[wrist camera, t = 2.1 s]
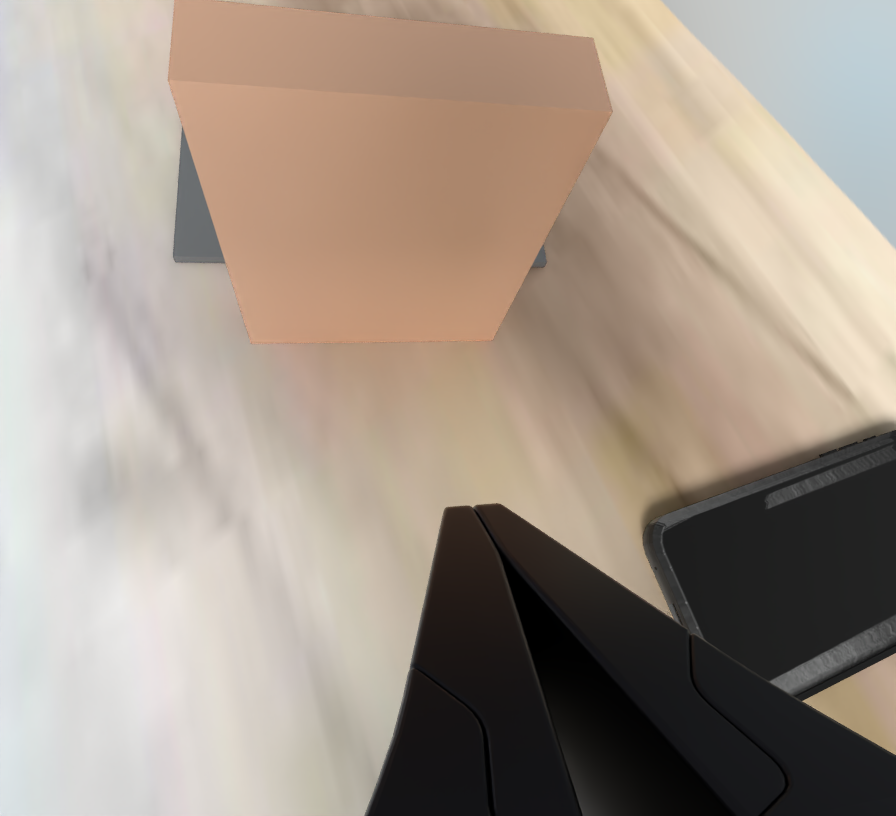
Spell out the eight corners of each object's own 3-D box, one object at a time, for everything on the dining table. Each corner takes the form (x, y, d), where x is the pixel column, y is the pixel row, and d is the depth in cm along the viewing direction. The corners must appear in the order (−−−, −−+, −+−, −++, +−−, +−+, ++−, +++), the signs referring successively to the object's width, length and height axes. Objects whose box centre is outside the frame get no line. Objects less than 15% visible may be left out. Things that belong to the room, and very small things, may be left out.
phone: (1018, 590, 24) (736, 735, 20) (989, 591, 25) (716, 729, 21) (914, 420, 26) (641, 520, 22) (892, 428, 27) (628, 524, 23)
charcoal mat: (543, 267, 27) (546, 262, 26) (175, 262, 24) (172, 256, 23) (500, 36, 32) (502, 30, 31) (193, 7, 29) (191, -1, 28)
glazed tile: (492, 340, 25) (613, 111, 14) (251, 343, 23) (167, 80, 12) (484, 288, 26) (592, 33, 15) (252, 286, 24) (175, -8, 13)
